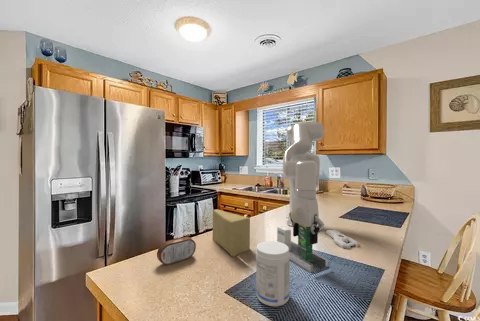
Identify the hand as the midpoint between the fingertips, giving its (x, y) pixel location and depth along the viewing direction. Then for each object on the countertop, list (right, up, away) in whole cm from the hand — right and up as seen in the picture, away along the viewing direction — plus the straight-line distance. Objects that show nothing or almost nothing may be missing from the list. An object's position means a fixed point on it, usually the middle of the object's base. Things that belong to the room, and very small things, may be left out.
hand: (304, 239), depth 83 cm
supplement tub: (-15, -10, -20) cm, 27 cm away
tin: (-49, -9, +1) cm, 50 cm away
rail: (-2, -9, +4) cm, 10 cm away
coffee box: (0, -7, 0) cm, 7 cm away
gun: (+24, -10, +23) cm, 34 cm away
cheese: (-31, -9, +16) cm, 36 cm away
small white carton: (-6, -8, +11) cm, 14 cm away
